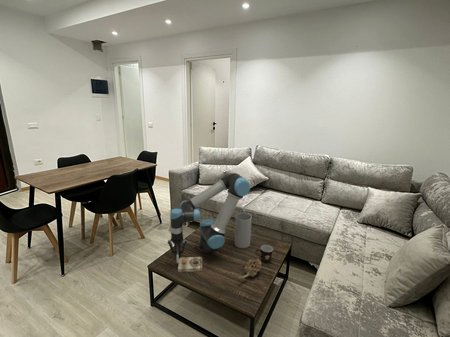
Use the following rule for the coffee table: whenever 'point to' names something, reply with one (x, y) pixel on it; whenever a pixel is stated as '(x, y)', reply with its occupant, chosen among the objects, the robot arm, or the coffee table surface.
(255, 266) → the dried lotus pod
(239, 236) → the cylinder vase
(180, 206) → the robot arm
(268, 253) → the coffee mug
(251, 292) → the coffee table surface
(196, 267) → the block
